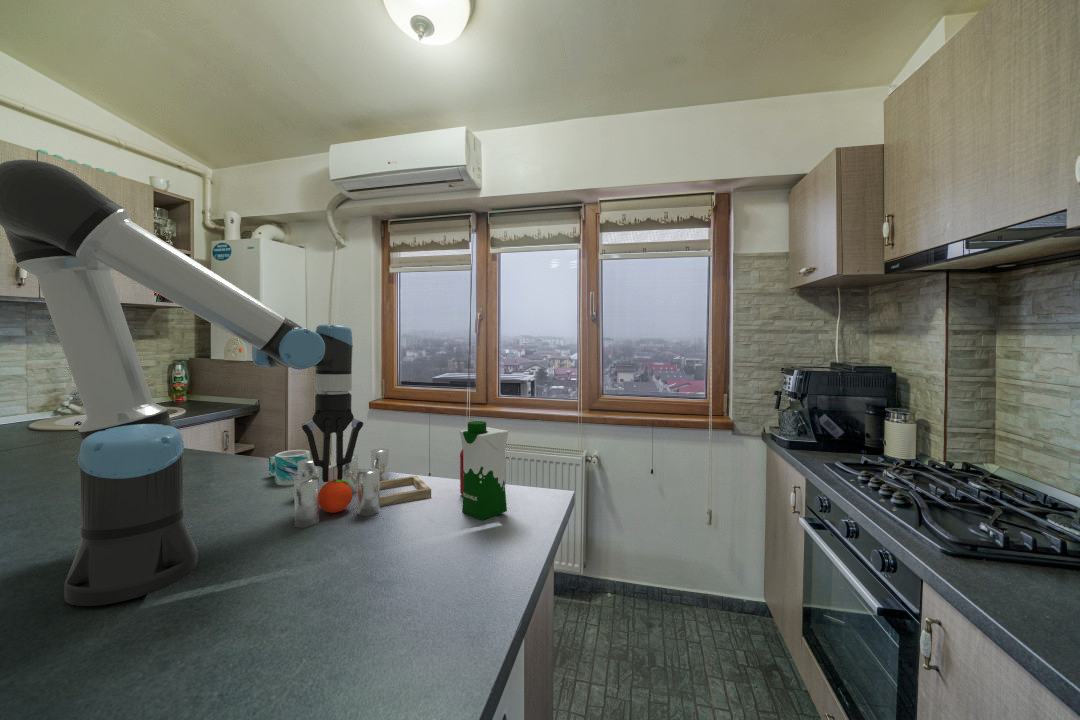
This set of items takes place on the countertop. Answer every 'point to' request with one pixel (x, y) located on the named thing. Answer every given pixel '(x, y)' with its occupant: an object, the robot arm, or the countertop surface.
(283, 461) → the mug
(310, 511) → the spacer field
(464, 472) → the milk carton
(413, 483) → the beech corral
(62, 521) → the countertop surface
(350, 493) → the clementine
